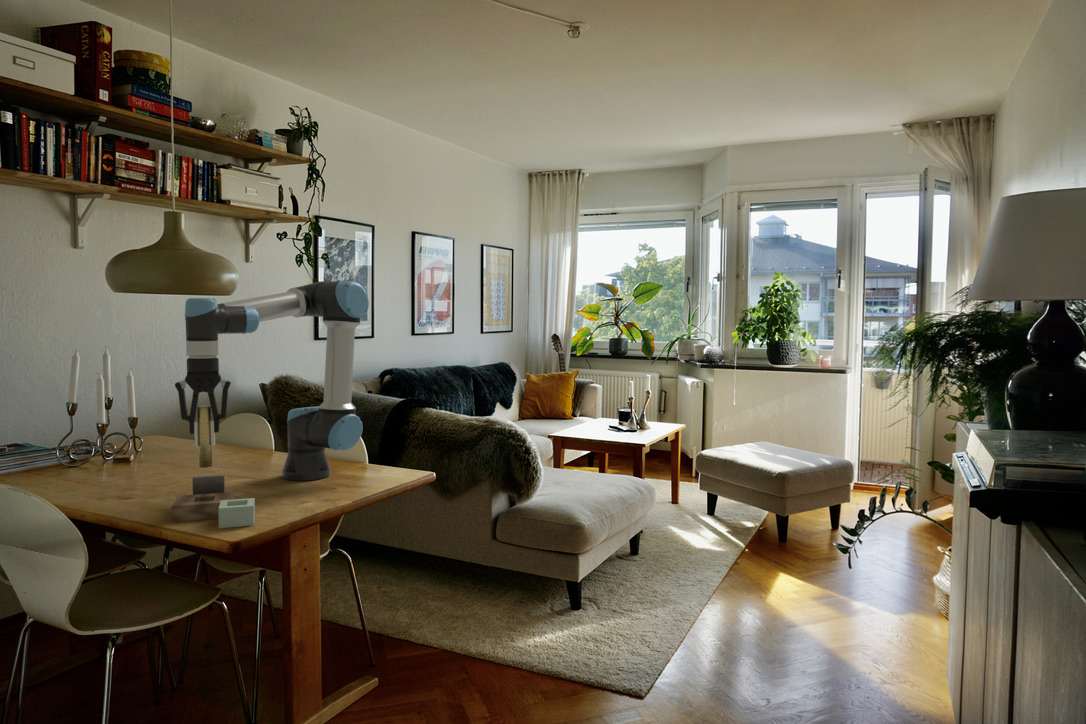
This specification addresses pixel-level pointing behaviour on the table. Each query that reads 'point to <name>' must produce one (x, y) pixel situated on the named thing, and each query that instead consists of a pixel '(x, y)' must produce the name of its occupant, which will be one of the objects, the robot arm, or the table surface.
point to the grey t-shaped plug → (208, 484)
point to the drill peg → (204, 436)
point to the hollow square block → (236, 512)
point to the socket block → (198, 506)
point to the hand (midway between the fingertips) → (205, 445)
